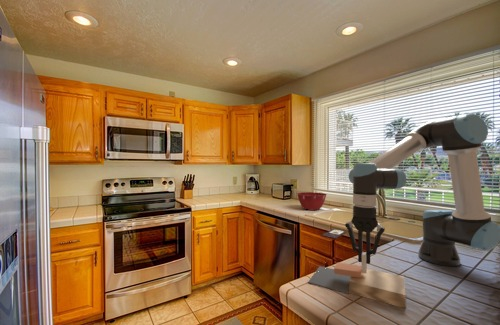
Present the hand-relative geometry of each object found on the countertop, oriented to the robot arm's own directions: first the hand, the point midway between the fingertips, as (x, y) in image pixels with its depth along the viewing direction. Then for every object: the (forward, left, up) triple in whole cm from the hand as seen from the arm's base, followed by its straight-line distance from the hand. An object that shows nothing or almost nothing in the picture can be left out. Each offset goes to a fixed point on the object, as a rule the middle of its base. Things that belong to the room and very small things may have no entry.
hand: (364, 271), depth 83 cm
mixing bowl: (+60, -137, -6) cm, 150 cm away
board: (-4, 0, -6) cm, 7 cm away
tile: (+5, 0, -2) cm, 5 cm away
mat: (+11, 0, -6) cm, 12 cm away
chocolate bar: (+23, -61, -6) cm, 65 cm away
